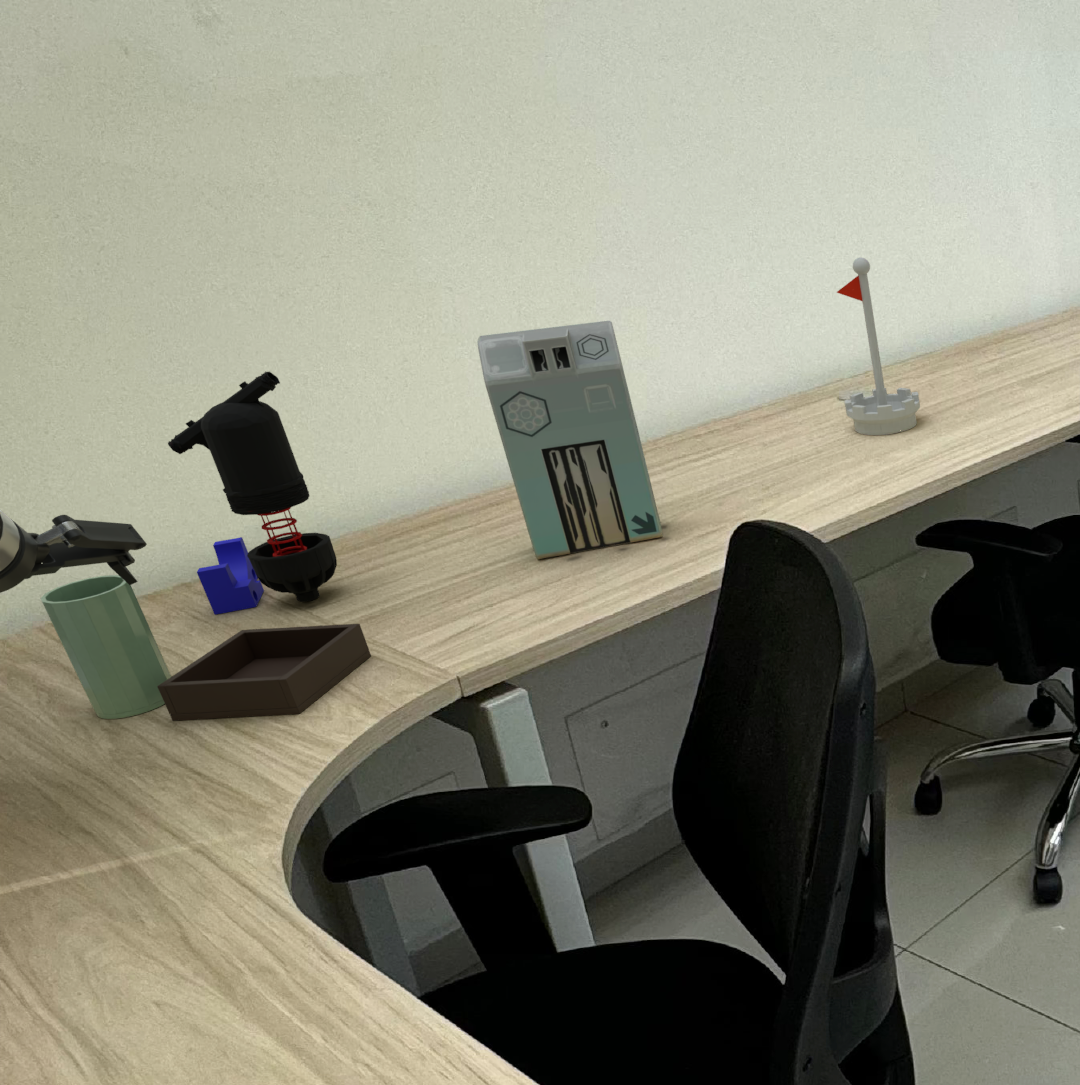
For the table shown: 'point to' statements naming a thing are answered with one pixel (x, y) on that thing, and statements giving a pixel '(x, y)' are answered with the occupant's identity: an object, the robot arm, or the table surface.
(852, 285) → the flag stand
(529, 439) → the device
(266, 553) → the filter
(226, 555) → the blue block
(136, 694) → the green pipe segment
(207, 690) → the tray
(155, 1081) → the table surface
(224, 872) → the table surface
